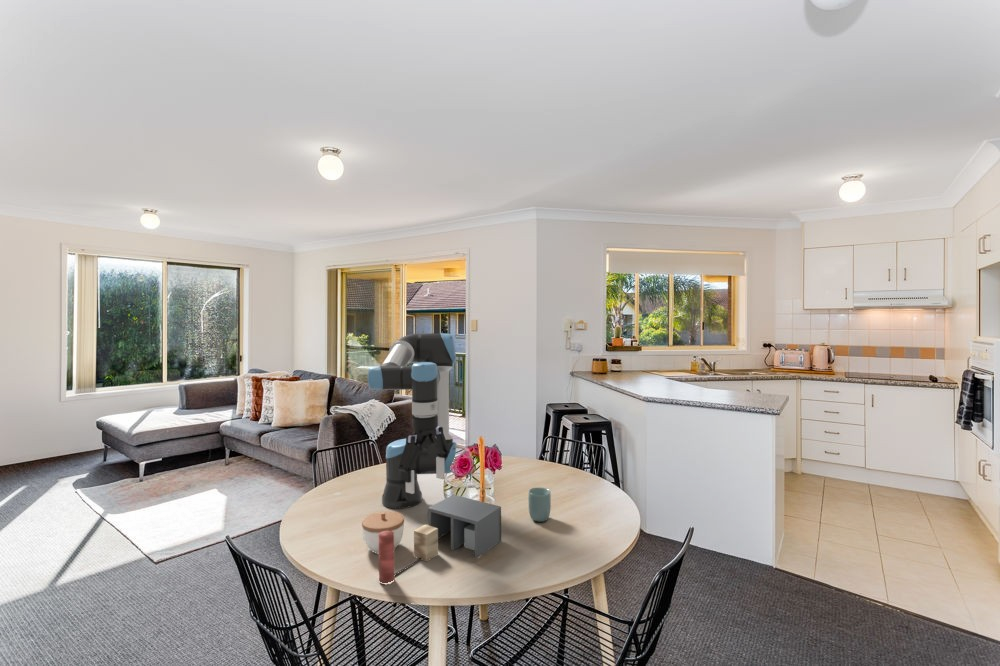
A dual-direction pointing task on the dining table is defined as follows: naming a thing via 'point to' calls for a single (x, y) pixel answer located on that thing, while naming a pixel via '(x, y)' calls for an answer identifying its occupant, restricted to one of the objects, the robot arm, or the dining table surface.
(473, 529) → the block
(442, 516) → the cubby
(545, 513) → the cup
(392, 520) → the white lidded jar
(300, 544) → the dining table surface
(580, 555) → the dining table surface
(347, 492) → the dining table surface
